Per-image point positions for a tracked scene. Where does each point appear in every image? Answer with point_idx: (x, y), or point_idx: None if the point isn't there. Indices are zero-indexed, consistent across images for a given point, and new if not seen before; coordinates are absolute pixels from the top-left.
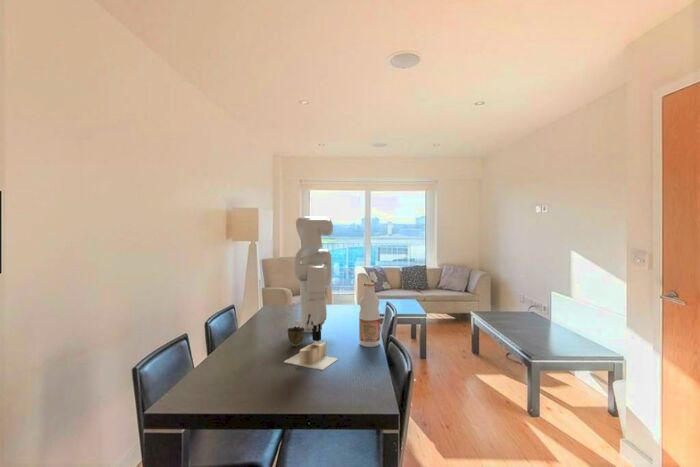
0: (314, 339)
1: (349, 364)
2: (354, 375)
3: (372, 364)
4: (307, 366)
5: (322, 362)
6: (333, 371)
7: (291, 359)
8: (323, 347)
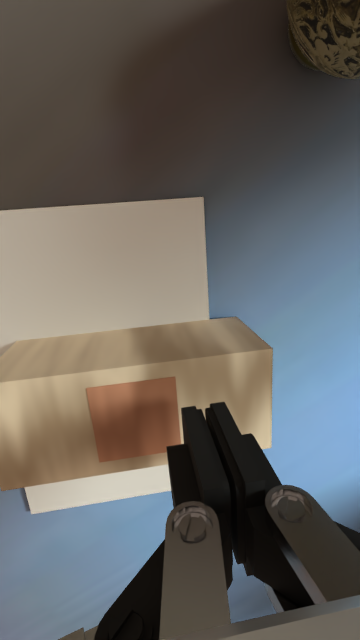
0: (184, 435)
1: None
2: None
3: (238, 616)
4: None
5: None
6: (60, 550)
7: (25, 241)
8: None
